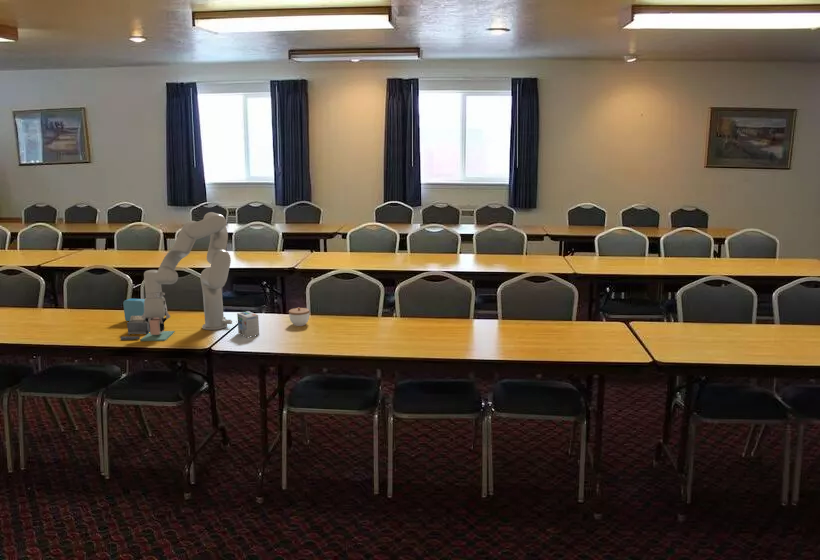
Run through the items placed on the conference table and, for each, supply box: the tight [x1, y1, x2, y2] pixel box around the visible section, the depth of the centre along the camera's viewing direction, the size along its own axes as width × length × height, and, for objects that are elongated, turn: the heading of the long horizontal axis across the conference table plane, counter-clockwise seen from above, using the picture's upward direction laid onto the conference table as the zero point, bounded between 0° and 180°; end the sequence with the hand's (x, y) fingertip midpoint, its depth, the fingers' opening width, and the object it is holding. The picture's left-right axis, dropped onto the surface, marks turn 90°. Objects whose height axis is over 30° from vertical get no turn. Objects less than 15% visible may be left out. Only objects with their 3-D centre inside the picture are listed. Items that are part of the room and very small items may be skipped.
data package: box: [122, 298, 145, 322], centre depth 357 cm, size 12×4×12 cm, turn 79°
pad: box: [139, 330, 175, 342], centre depth 329 cm, size 12×14×1 cm
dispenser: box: [120, 316, 150, 341], centre depth 334 cm, size 10×20×8 cm, turn 1°
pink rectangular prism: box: [150, 318, 165, 335], centre depth 328 cm, size 4×7×7 cm, turn 1°
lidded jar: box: [288, 306, 310, 327], centre depth 348 cm, size 11×11×9 cm
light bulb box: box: [236, 310, 260, 338], centre depth 331 cm, size 11×7×11 cm, turn 40°
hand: (157, 330), depth 329 cm, fingers closed on pink rectangular prism, 4 cm apart
